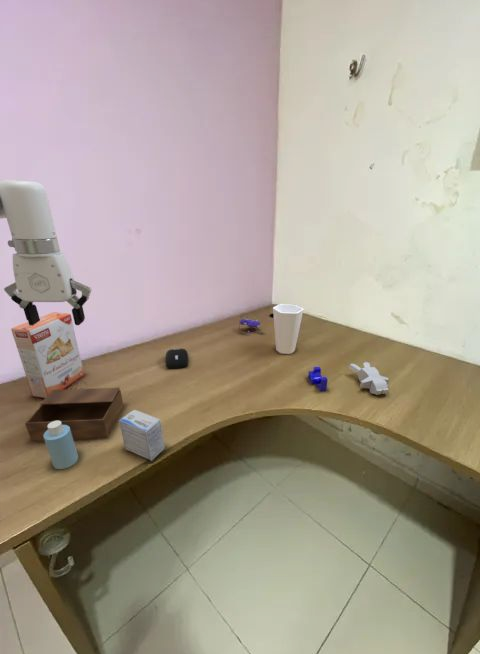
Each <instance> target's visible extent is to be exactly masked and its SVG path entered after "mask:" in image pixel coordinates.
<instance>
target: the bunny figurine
mask: <svg viewBox="0 0 480 654" xmlns="http://www.w3.org/2000/svg"><path fill="white" fill-rule="evenodd" d="M348 369H349V370H351V371H354V372H356V373H357V377H358V381H359V382H360V385H359V387H360V388H361V389H369V393H370V394H371V395H376V396H379V395H385V394H388V393H389V388H388V385H389V384H388V383H389V381H390V379H389V377H387V376H383V375H381V374H380V372H379V370H378V369H377V368H376V367H375V366H371V363H370V362H368V361H365V362H363V367H362V368H361V367H360V366H359V365H358V364H355V363H350V364H349V366H348Z"/></svg>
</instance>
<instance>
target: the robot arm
mask: <svg viewBox="0 0 480 654" xmlns="http://www.w3.org/2000/svg"><path fill="white" fill-rule="evenodd" d="M0 219H6V221H7V225H8V228H9V232H10V234H11V240H10V239H8V241H7V245H8V247H9V248H13V249H14V251H15V252H16V253H12V270H13V277H14V282H13V283H11V284H9V285H7V286H5V287H4V288H3V290H4V292H5V293H6V294H7V295H8V296H9V297H10V299H11V301H13V302H14V303H16V304H17V305H18V306H19V308H20V309H22V310H23V312H24V315H25V318H26V319H25V320H26V321H27V322H28V323H29V325H34V324H36V323H37V322H39V321H40V315H39V311H38V308H37V305H36V304H33V303H64V302H67V303H68V304H69V305H70V306H71V307H72V309H71V313H72V314H71V315H72V318H73V323H74V325H76V326H80V325H82V323H83V322H85V318H86V317H85V311H84V308H83V306H84V305H85V304H86V302H87V301H88V300H89V299H90V296H91V293H92V287H90V286H88V285H86V284H83V283H81V282H78V281H76V280H75V279H74V278H75V277H74V275H73V272H72V269H71V267H70V264H69V262H68V260H67V258H66V256H65V253H64V252H61V249H60V245H59V239H58V236H57V231H56V227H55V222H54V218H53V215H52V211H51V206H50V201H49V198H48V194H47V190H46V188H45V187H44V185H43V184H42V183H40V182H37V181H32V180H31V181H30V180H20V179H19V180H18V179H2V180H0ZM77 291H80V292H81V297H79V296H78V295H77V294H78V293H77Z"/></svg>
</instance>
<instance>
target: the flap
mask: <svg viewBox="0 0 480 654" xmlns="http://www.w3.org/2000/svg"><path fill="white" fill-rule="evenodd" d="M119 390H121V389H120V387H97V388H64V389H63V390H52V391H51V392H50V394H49V395H48V396H47V397H46V398H43V400H42V401H41V402H40V403H39V405H40V406H41V405H54V404H80V403H106V402H113V400H114V398H115V396H116V394H117V393H118V391H119Z"/></svg>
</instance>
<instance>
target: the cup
mask: <svg viewBox="0 0 480 654" xmlns="http://www.w3.org/2000/svg"><path fill="white" fill-rule="evenodd" d="M272 311H273V313H272V314H273V315H272V316H273V328H274V340H275V351H276V352H277V353H279V354H284V355H285V354H286V355H290V354H293V353H294V352H295V351H296V347H297V342H298V337H299V333H300V328H301V323H302V319H303V314H304V308H303V307H301V306H299V305H297V304H291V303H289V304H288V303H280V304H277V305H275V306H273V307H272Z"/></svg>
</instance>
